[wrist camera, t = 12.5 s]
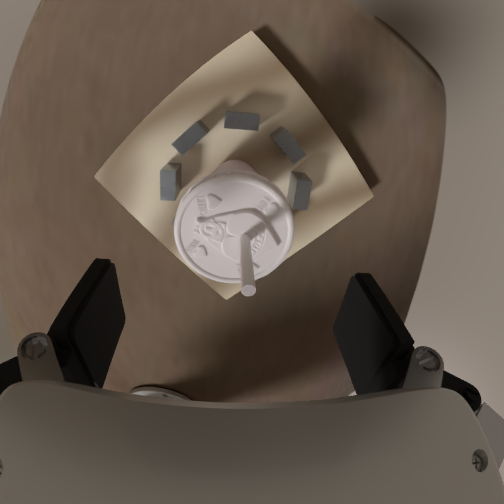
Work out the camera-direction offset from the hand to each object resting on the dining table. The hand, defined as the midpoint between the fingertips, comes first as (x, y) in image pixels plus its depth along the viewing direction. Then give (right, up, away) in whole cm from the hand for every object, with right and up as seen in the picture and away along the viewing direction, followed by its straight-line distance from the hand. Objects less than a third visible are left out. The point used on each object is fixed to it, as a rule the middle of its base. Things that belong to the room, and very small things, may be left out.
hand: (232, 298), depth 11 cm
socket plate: (-1, +8, +13) cm, 16 cm away
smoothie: (-1, +8, +12) cm, 14 cm away
